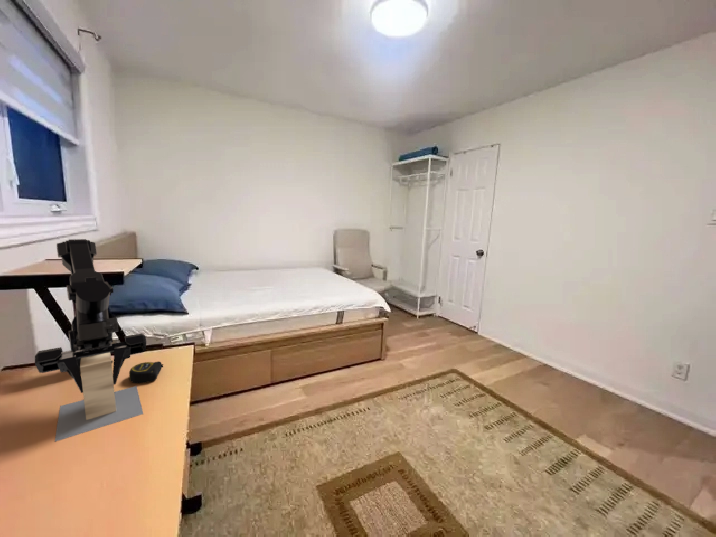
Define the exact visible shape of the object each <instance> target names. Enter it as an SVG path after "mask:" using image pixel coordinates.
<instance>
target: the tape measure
mask: <svg viewBox="0 0 716 537" xmlns="http://www.w3.org/2000/svg"><path fill="white" fill-rule="evenodd" d="M162 368H164V364H162V362H161V361H155V362H152V361H145V362H139V363H138V364H135V365H134V366H132V367H131V368H130V370H129V372H128V376H129V377H128V378H129V380H130V382H131V383H133V384H143V383H148V382H154V381H156V379H157V378H158V376H159V374H160V372H161V371H162Z"/></svg>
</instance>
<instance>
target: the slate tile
mask: <svg viewBox="0 0 716 537" xmlns="http://www.w3.org/2000/svg"><path fill="white" fill-rule="evenodd" d="M114 393H115V403H116V411H115V412H112V413H109V414H105V415H102V416H98V417H95V418H92V419H88V420H86V413H85V404H84V399H81V400H78V401H75V402H70V403H66V404H63V405H59V406H60V407H59V412H58V418H57V425H56V431H55V432H56V433H55V439H54V442H59V441H62V440H64V439H69V438H72V437H74V436H77V435H80V434H81V435H82V434H85V433H88V432H90V431H93V430H98V429H99V428H103V427H106V426H109V425H113V424H116V423H119V422H122V421H125V420H129V419H133V418H135V417H138V416H141V415H144V411H143V408H142V404H141V400H140V395H139V391H138V386H137V385H135V386H132V387H126V388H124V389H119V390H116V391H115V390H114Z"/></svg>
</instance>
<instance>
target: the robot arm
mask: <svg viewBox="0 0 716 537" xmlns="http://www.w3.org/2000/svg"><path fill="white" fill-rule="evenodd" d="M96 244H97V243H96V242H94V241H91V240H89V239H86V238H85V239H83V238H82V239H80V238H79V239H78V238H77V239H76V238H73V239H70V238H69V239H68V240H65V241H61V242H57V243H56V251H57V257H58V259H59V258H61V263H62V264H61V265H62V266H64V268H66V269H67V270H68V271H69V272H70V276H69V284H68V285H66V292H67V298H68V301H72V303H73V304H75V308H76V309H75V310H76V315H75V316H74V317H73V318H72V321H71V330H68V337H69V338H68V340H69V347H70V350H66V351H63V348H62V346H61V347H55V348H54V347H53V348H50V349H44V350H39V351H37V352H36V353H35V355H34V365H35V367H36V369H37V371H38V372H39V374H41V373H42V374H46V373H50V372H55V371H59V372H60V373H65V372H66V373H67V374H68V375H69V376H70V377H71V378H72V380H74V383H75V384H76V386H77V388H78V390H79V391H80V393H82V394H83V387H82V379H81V370H80V362H81V358H84V357H89V356H94V355H99V354H104V353H110V354H111V353H113V360H112V359H111V363H113V365H112V373H113V383H114V386H115V385H116V384H117V381H118V378H119V374H120V372H121V369H122V366H123V365H124V362H125V361H126V360H127V359H130V358H131V356H132V355H136V354H141V353H145V352H146V350H147V338H146V337H147V336H146V334H145V333H136V334H130V335H125V336H124V341H121V342H115V343H113V342H114V341H113V340H114V339H113V333H118V332H119V323H118V317H117V316H116V317H109V309H108V308H109V306H110V296H112V294H114V287H112V286H111V285H110V284H109V282H108V281H105V279H104V277H103V276H104V275H103V274H102V273H101V272H99V271H96V268H95V265H94V257H96V256H97V254H98V253H97V246H96Z"/></svg>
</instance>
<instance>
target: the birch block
mask: <svg viewBox="0 0 716 537" xmlns="http://www.w3.org/2000/svg"><path fill="white" fill-rule="evenodd" d="M111 360H112V355H111V353H104V354H99V355H94V356H89V357H84V358H81V362H80V370H81V372H80V375H81V379H82V387H83V393H82V394H83V400H84V404H85V413H86V420H88V419H92V418H95V417H98V416H102V415H105V414H109V413H112V412H115V411H116V403H115V393H114V392H115V385H114V383H113V365H112V363H113V362H112V363H111Z"/></svg>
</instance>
